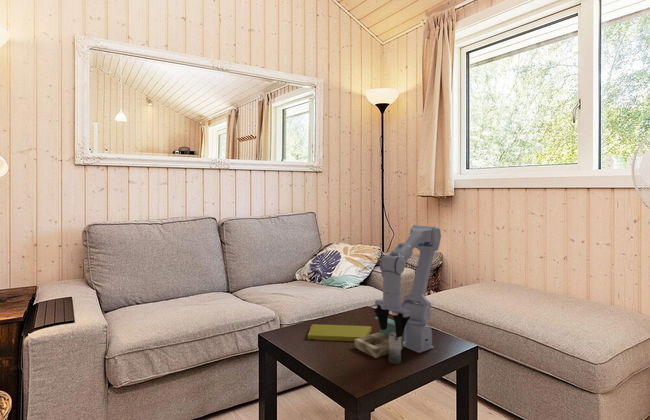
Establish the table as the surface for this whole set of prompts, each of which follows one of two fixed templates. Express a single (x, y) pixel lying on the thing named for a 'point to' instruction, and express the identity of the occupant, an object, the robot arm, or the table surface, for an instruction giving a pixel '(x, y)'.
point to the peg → (394, 348)
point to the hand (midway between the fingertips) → (391, 332)
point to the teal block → (389, 327)
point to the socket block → (374, 344)
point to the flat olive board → (338, 332)
